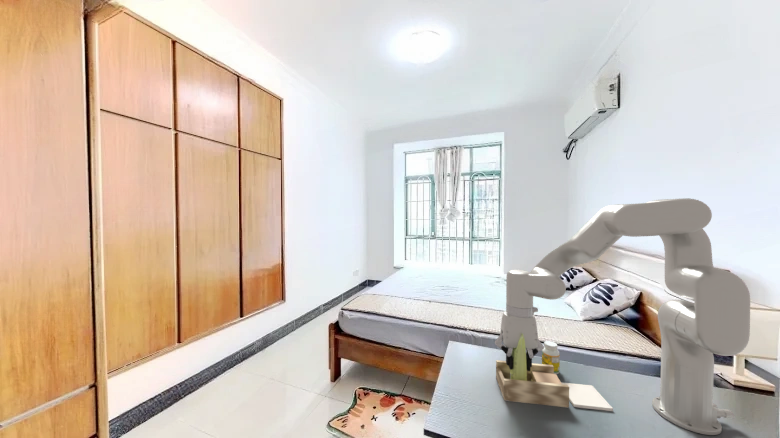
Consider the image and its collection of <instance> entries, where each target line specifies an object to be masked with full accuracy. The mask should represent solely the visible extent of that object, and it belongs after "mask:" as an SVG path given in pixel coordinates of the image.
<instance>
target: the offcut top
mask: <svg viewBox="0 0 780 438" xmlns="http://www.w3.org/2000/svg"><path fill="white" fill-rule="evenodd" d="M532 380H533V381H534V382H544V383H554V384H562V383H563V382H562V383H561V380H560V379H559V377H558V374H550V373H543V372H535V371H532Z"/></svg>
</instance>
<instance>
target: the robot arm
mask: <svg viewBox="0 0 780 438" xmlns="http://www.w3.org/2000/svg"><path fill="white" fill-rule="evenodd" d="M712 217H713V212H712V209H711V208H710V207H709V206H708V204H706V203H705V202H704V201H701V200H699V199H696V198H685V197H684V198H667V199H666V198H665V199H664V198H662V199H656V200H655V199H654V200H649V201H647V202H642V203H640V202H639V203H621V204H609V205H606V206H604V207H602V208H601V209H600V210H598V211H597V212H596V213H595V214H594V215H593V216H592V217H591V218H590V219H589V220H588V221H587V222H586V223H585V224H583V226H582V227H581V228H579V230H578V231H577V232H576V233H575V234H574V235H573V236H571V237H570V238H569V239H568V240H567V241H565V242H564V243H562V244H560V245H559V246H557V248H555V249H553V250H552V251H550V252H549V253H548V254H546V255H545V256H544V257H543V258H542V259H541V260H540V261H538V263H536V265H535V266H534V267H533V268H532V269H531V270H530V271H527V270H522V269H511V270H508V271H507V273H506V283H505V284H506V285H505V286H506V291H505V292H506V296H505V297H506V298H505V299H506V300H505V301H506V302H505V309H506V310H505V311H503V312H502V316H501V317H502V318H501V321H500V322H501V324H500V332H499V333H500V335H499V336H498V337H497V338H496V339H495V341H494V344H495V346H496V347H498V348H499V349H500V350H502V351H503V353H505V361H506V364H507V365H508V366H509V368H510V369H511V370H512V369H513V357H512V350H513V348H517V346H518V342H519V339H520V337H521V336H522V333H523V335H524V339H525V348H526V364H527V371H530V367H532V363H533V359H534V357H535V356H536V355H537V354H538V353H539V352H542V350H543V349H544V347H545V346H544V344H542V342H541V341H540V340H539V334H538V332H539V331H538V327H537V325H538V324H537V318H536V316H535V315H534V314H535V313H538V312H539V310H538V309H539V308H538V307H537V306H536V307H535V306H534V297H535V298H540V299H545V300H554V301H555V300H558V299H560V298H562V297H563V296H564V295H565V293H566V292H567V290H566V289H567V286H566V283H565V282H564V280H563V279H562V278H561V276H562V275H563V274H565V273H566V272H567V271H568V270H570V269H571V268H574V267H575V266H579V265H584V264H588V263H591V262H595V261H596V260H599V259H600V258H601V257H602V256H603V254H605V252H607V250H609V249H610V248H611V247H612V246H613V245H614V244H616V242H618V241H619V240H620V238H622V237H623V236H624V237H635V238H637V237H655V236H656V237H657V236H659V237H660V239H661V241H662V244H663V249H664V283H665V286H666V287H667V289H668V291H670V292H672V293H674V294H676V295H677V296H680V297H683V298H686V299H687V300H685V299H670V300H666V301H665V302H663V303H662V304H661V305H660V307H659V308H658V311H657V321H658V326H659V331H660V338H661V339H660V341H661V351H660V352H661V353H660V380H659V381H660V384H659V386H660V387H659V388H660V389H659V396H656V397H654V398H652V403H651V404H652V407H653V409H654V411H656V412H657V414H658V415H660V416H662V418H664V419H666V420H667V421H669V422H670V423H672V424H675V425H676V426H678V427H680V428H682V429H685V430H687V431H690V432H693V433H696V434H701V435H705V436H717V435H720V434H721V433H722V428H723V427H722V424H721V422H720V421H719V420H718V419H721V418H723V419H724V418H727V419H735V414H734V412H733V411H732V410H731V409H725V408H719V407H718V405H717V404H716V403H714V402H713V401H714V374H715V372H714V371H715V357H714V354H715V355H718V356H723V357H729V356H731V357H732V356H736V355H738V354H740V353H742V352H743V351H744V350H745V349H746V348H747V347H748V344H749V341H750V335H751V333H750V332H751V331H750V330H751V293H750V291H749V288H748V286H747V285H746V283H745V282H744V280H743V279H742V278H741V277H739V276H738V275H737V274H735V273H733V272H731V271H729V270H725V269H722V268H718V267H714V262H713V253H712V252H713V251H712V250H713V249H712V243H711V240H710V238H709V235H708V234H707V232H706V230H705V229H704V228H706V227H707V226H708V225H709V224H710V222H711V220H712ZM689 300H691V301H693V302H691V301H689ZM502 343H503V344H502Z"/></svg>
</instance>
